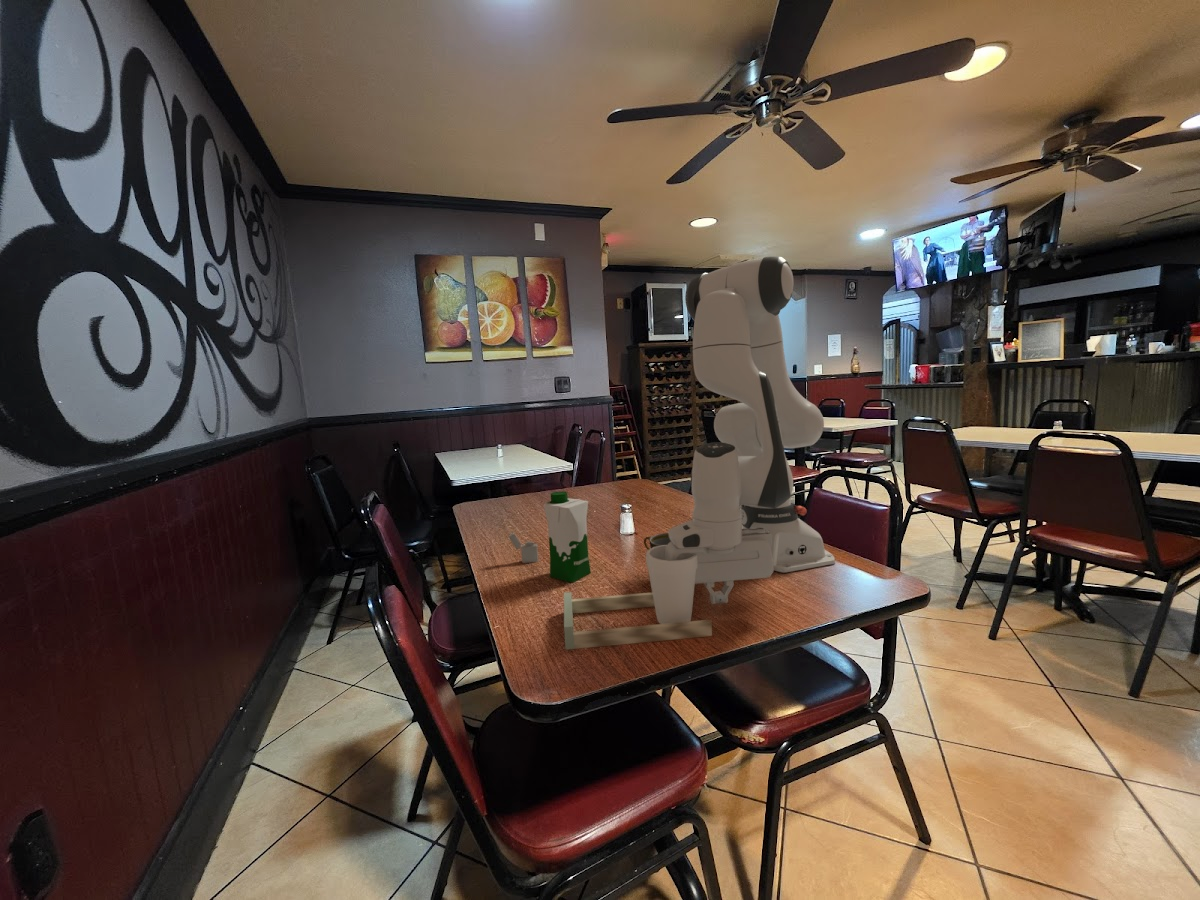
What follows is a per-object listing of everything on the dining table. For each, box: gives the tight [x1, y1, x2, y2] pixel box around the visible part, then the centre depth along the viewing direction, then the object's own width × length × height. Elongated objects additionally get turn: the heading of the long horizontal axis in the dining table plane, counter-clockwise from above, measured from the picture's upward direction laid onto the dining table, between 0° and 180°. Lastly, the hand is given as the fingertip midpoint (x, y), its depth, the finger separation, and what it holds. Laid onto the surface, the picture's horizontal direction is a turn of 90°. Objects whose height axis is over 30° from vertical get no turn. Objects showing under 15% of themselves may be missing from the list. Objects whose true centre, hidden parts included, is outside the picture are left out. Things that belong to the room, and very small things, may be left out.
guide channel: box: [572, 591, 713, 650], centre depth 86 cm, size 24×14×2 cm, turn 95°
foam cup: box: [645, 545, 697, 624], centre depth 86 cm, size 10×9×13 cm
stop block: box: [563, 591, 575, 651], centre depth 85 cm, size 2×14×4 cm, turn 5°
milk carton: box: [543, 491, 592, 584], centre depth 110 cm, size 9×9×20 cm
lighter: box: [508, 532, 539, 564], centre depth 121 cm, size 7×2×8 cm, turn 95°
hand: (718, 602), depth 87 cm, fingers closed
